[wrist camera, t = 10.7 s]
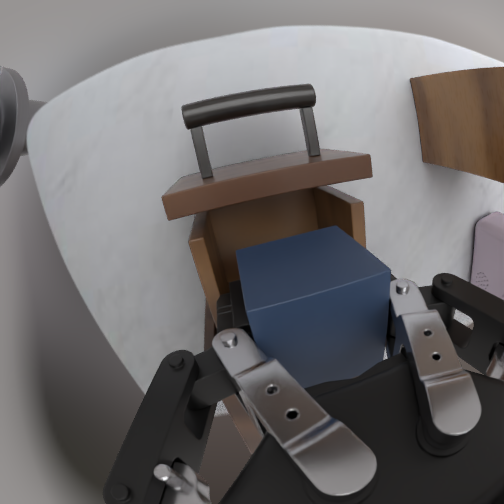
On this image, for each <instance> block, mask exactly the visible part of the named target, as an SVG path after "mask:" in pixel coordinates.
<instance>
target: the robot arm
mask: <svg viewBox="0 0 504 504" xmlns="http://www.w3.org/2000/svg"><path fill="white" fill-rule="evenodd" d="M229 289H230V293H226V294H222V295H220V297H219V298H218V300H217V302H216V304H217V335H216V336H215V337H214V338H213V340H212V346H211V347H210V348H209V349H207V350H206V351H204V352H202V353H199V354H197V355H195V356H194V355H193V354H192V353H191V352H189V351H186V350H178V351H175V352H172V353H170V354H168V355H167V356H166V357H165V358H164V359H163V360H162V362H161V364H160V366H159V368H158V370H157V372H156V374H155V376H154V378H153V380H152V382H151V384H150V386H149V388H148V391H147V393H146V395H145V397H144V399H143V401H142V403H141V405H140V407H139V410H138V412H137V414H136V416H135V418H134V420H133V422H132V425H131V427H130V429H129V431H128V433H127V435H126V438H125V440H124V442H123V444H122V447H121V449H120V451H119V453H118V456H117V458H116V460H115V462H114V465H113V467H112V469H111V472H110V474H109V476H108V479H107V481H106V483H105V486H104V488H103V498H104V501H105V503H106V504H212V503H211V501H210V499H209V485H208V483H207V481H206V480H205V479H204V478H203V477H202V476H200V475H199V474H198V473H199V470H200V466H201V462H202V459H203V455H204V451H205V448H206V444H207V439H208V436H209V433H210V429H211V425H212V421H213V418H214V414H215V410H216V406H217V402H219V401H221V400H223V399H225V398H227V397H229V396H231V395H233V394H235V396H236V397H237V399H238V401H239V402H240V404H241V405H242V407H243V408H244V410H245V411H246V413H247V415H248V416H249V418H250V419H251V421H252V422H253V424H254V426H255V428H256V429H257V431H258V433H259V434H260V436H261V437H262V440H261V442H260V443H259V445H258V446H257V448H256V450H255V451H254V453H253V454H252V456H251V457H250V459H249V461H248V462H247V464H246V465H245V467H244V468H243V470H242V471H241V472H240V474H239V476H238V477H237V479H236V480H235V481H234V483H233V484H232V485H231V487H230V488H229V490H228V491H227V493H226V494H225V495H224V497H223V498H222V499H221V501H220V502H219V503H218V504H504V300H503V299H501V298H499V297H497V296H495V295H493V294H491V293H489V292H487V291H485V290H483V289H481V288H479V287H477V286H475V285H473V284H471V283H469V282H467V281H465V280H463V279H461V278H459V277H457V276H455V275H452V274H449V273H441V274H438V275H436V276H435V277H434V278H433V282H432V285H431V286H424V287H418V286H417V285H416V284H415V283H414V282H413V281H411V280H408V279H397V278H395V277H394V276H393V275H392V274H391V282H390V301H389V314H388V325H387V334H386V343H385V347H386V352H387V357H388V359H385V360H383V361H381V362H378V363H377V364H376V365H374V366H373V367H371V368H370V369H368V370H367V371H365V372H364V373H362V374H361V375H359V376H358V377H356V378H351V379H344V380H337V381H329V382H324V383H320V384H317V385H314V386H311V387H307V388H303V387H302V386H301V385H300V384H299V383H298V382H297V381H296V380H295V379H294V378H293V377H292V376H291V375H290V373H289V372H288V371H287V370H286V369H285V368H284V367H283V366H282V365H281V364H280V363H279V361H278V360H277V359H276V358H274V357H270V358H268V357H267V356H266V355H265V354H264V353H263V352H262V351H261V349H260V348H259V347H258V346H257V345H256V344H255V341H254V338H253V334H252V331H251V327H250V324H249V321H248V317H247V314H246V309H245V304H244V298H243V292H242V287H241V281H240V280H236V281H232V282H229ZM456 309H457V310H459V311H461V312H462V313H464V314H466V315H468V316H469V317H471V318H472V320H473V322H474V327H473V330H471V329H470V328H468V327H466V326H465V325H463V324H462V323H460V322H458V321H457V320H455V319H453V318H454V314H455V310H456ZM458 357H460V358H461V359H463V360H464V361H466V362H467V363H468V364H470V365H471V366H473V367H474V368H475V369H477V370H478V371H480V372H481V373H482V374H484V375H482V374H478V373H475V372H471V371H468V370H464V369H463V368H462V366H461V363H460V361H459V358H458Z"/></svg>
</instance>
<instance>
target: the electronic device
mask: <svg viewBox="0 0 504 504" xmlns="http://www.w3.org/2000/svg"><path fill="white" fill-rule="evenodd" d="M471 284H473V285H475V286H477V287H479V288H481V289H483V290H485V291H487V292H489V293H491V294H493V295H495V296H497V297H499V298H501V299H503V300H504V214H502V213H500V212H493V213H491V214H490V215H488V216H486V217H484V218H482V219H480V220H479V221H478V222H477V224H476V227H475V243H474V255H473V265H472V274H471Z"/></svg>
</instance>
